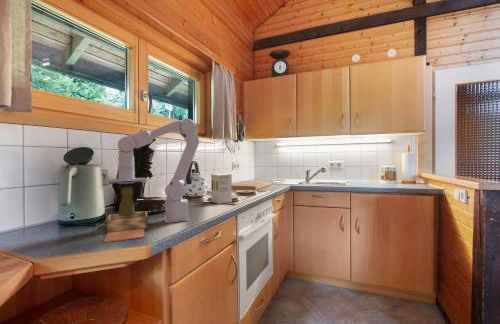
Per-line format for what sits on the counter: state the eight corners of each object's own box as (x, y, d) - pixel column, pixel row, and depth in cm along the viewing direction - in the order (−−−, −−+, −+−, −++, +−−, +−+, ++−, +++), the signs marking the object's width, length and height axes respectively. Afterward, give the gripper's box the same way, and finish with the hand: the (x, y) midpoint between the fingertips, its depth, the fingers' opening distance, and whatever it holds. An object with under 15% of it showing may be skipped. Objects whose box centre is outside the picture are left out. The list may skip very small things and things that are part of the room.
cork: (128, 216, 97) (129, 187, 97) (114, 215, 98) (115, 187, 98) (138, 213, 103) (139, 186, 103) (124, 212, 104) (125, 185, 104)
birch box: (147, 220, 109) (147, 211, 109) (147, 227, 98) (147, 217, 98) (109, 224, 104) (109, 214, 104) (105, 232, 92) (104, 221, 92)
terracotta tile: (144, 229, 95) (144, 228, 95) (144, 237, 85) (144, 236, 85) (108, 234, 90) (108, 232, 90) (103, 242, 81) (103, 241, 81)
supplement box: (211, 201, 153) (210, 174, 153) (224, 200, 158) (223, 173, 158) (218, 204, 145) (218, 174, 145) (232, 202, 151) (231, 174, 150)
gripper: (104, 168, 94) (105, 205, 94) (146, 167, 99) (147, 201, 100) (107, 168, 100) (108, 202, 100) (146, 166, 106) (147, 199, 106)
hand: (127, 201), depth 100 cm, fingers closed on cork, 5 cm apart
